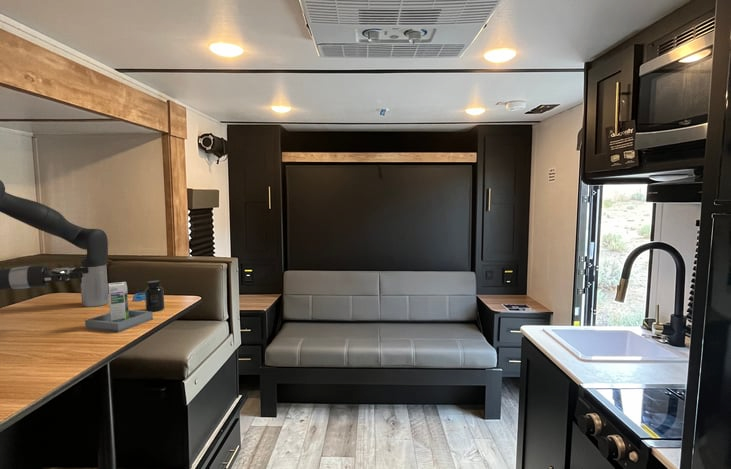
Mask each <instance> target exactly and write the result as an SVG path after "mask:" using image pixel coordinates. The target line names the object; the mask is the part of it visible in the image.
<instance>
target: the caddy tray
mask: <svg viewBox="0 0 731 469" xmlns="http://www.w3.org/2000/svg"><path fill="white" fill-rule="evenodd" d="M128 310H129V319H127V320H124V321H121V322H119V323H117V322H111V316H110V312H108V313H104V314H100V315H98V316H97V315H96V316H95V317H91V318H88V319H85V320H84V322H85V323H84V324H85V329H87V330H96V331H104V332H113V333H120V332H123V331H125V330H129V329H132V328H133V327H137V326H139V325H142V324H145V323H147V322H150V321H152V320H154V319H153V318H154V316H153V315H154V314H153V312H149V311H147V310H137V309H128Z"/></svg>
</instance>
